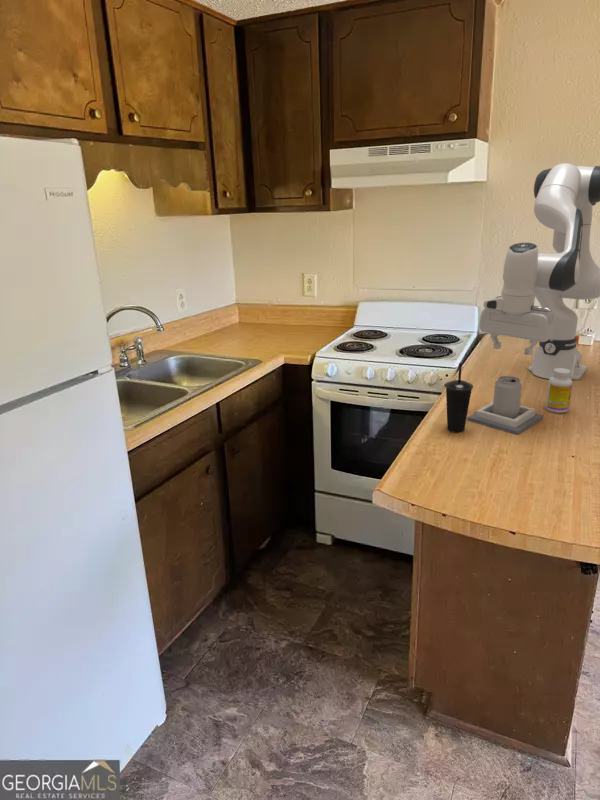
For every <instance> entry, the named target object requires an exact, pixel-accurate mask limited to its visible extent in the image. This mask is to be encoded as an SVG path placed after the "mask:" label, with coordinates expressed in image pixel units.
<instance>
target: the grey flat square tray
mask: <svg viewBox="0 0 600 800" xmlns="http://www.w3.org/2000/svg"><path fill="white" fill-rule="evenodd" d="M492 411H493V401H492V402H489V403H488V404H487V405H484V406H483V407H481V408H479V409H477V410H476V412H474V413H472V414H470V415H468V416H467V418H466V421H470V422H472V423H476V424H479V425H483V426H486V427H489V428H493V429H496V430H500V431H504V432H507V433H510V434H514V435H517V436H518V435H520V434H521V433H523V432H524V431H526V430H527V429H529V428H531V427H532V426H533V425H535V424H536V423H538V422H540V421H541V420H542V419H543V418H544V415H543V414H540V413H536V408H532V407H528V406H525V405H521V404H520V407H519V415H518V417H516V418H515V419H511V418H508V417H504V416H500V415H497V414H493V413H492Z"/></svg>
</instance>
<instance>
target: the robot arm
mask: <svg viewBox="0 0 600 800" xmlns="http://www.w3.org/2000/svg"><path fill="white" fill-rule="evenodd" d="M533 196H534V198H535V200H534V205H533V211H534V216H535V218H536V219H537V220H538V221H539V223H540V224H542V225H543V226H544V227H546V228H548V229H550V230H551V229H552V230H553V236H552V238H553V239H552V247H553V249H554V251H555V252H556V253H549V252H548V253H545V252H542V253H540V252H539V249H538V245H537V244H535V243H533V242H519V243H514V244H512V245H510V246H509V247H508V249H507V251H506V256H505V259H504V263H503V264H504V266H503V273H502V280H503V286H502V289H501V294H500V296H495V297H492V298H489V299H487V300H484V302H483V307H484V308H483V309H482V311H481V313H480V319H479V329H480V331H481V332H482V333H488V334H490V339H491V341H492V342H493V349H495V350H500V349H501V347H502V342H501V341H500V340H499V339H498V336H499V335H500V336H506V337H512V338H518V339H523V340H529V343H528V344H530V345H529V346H527V347H525V348H524V352H523V354H524V355H527V356H531V355H533V358H532V362H531V365H528V367H527V370H528V371H531V373H532V374H533V375H535V376H536V377H538V378H544V379H548V380H549V379H550V378H551V377H553V376H554V374H553V372H554V369H556V368H564V369H568V370H570V376H569V378H570V379H571V380H581V378H582V376H583V375H584V374H585V372H586V371H587V369H588V366H587V365H585V364H582V353H581V352H580V351H579V350H578V348H577V343H578V341H579V339H580V337H579V335H576V334H577V327H578V321H579V318H578V315H577V313H576V312H575V311H574V310H573V309H571V308H569V307H568V306H567V305H566V304H565V302H564V300H563V299H570V300H579V301H580V300H582V301H583V300H584V301H586V300H596V299H598V298H600V267H599V266H598V265H597V263H595V262H596V261H594V258H593V257H592V255H591V250H590V239H591V238H590V237H591V230H592V229H591V227H592V219H593V207H594V206H595V205H596V204H597V203H600V166H599V165H595V166H587V165H586V166H585V165H575V164H572V163H569V162H562V163H559V164H557V165H555V166H553V167H551V168H547V169H544V170H541V172H539V173H538V175H536V177H535V180H534V183H533ZM536 300H537V301H538V303H539V305H540V306H538V305H537V306H536V305H535V301H536ZM537 344H538V345H539V346H538V347H536V348H535V349H534V352H533V348H534V347H535V346H537Z"/></svg>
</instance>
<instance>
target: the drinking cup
mask: <svg viewBox="0 0 600 800" xmlns="http://www.w3.org/2000/svg"><path fill="white" fill-rule="evenodd" d="M462 367H463V364H462V362H460V363H459V364H458V377H457V379H453V380H450V381H447V382H446V383H444V387H445V393H446V395H445V397H446V427H447V431H449V432H452V433H462V432H464V431H465V428H466V423H467V417H468V412H469V407H470V401H471V395H472V390H473V389H474V385H473V384H472V383H471V382H468V381H467V380H463V379H462Z"/></svg>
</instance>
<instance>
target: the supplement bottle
mask: <svg viewBox="0 0 600 800" xmlns="http://www.w3.org/2000/svg"><path fill="white" fill-rule="evenodd" d="M553 374H554V376H553V377H551V378H550V379H548V383H547V384H548V385H547V393H546V399H545V400H546V401H545V409H546V410H547V411H548V412H550V413H551V412H552V413H555V414H561V413H562V414H565V413H567V412H568V411H569V410H570V403H571V395H572V388H573V379H570V378H569V376H570V370H568V369H564V368H556V369H554V372H553Z"/></svg>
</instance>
